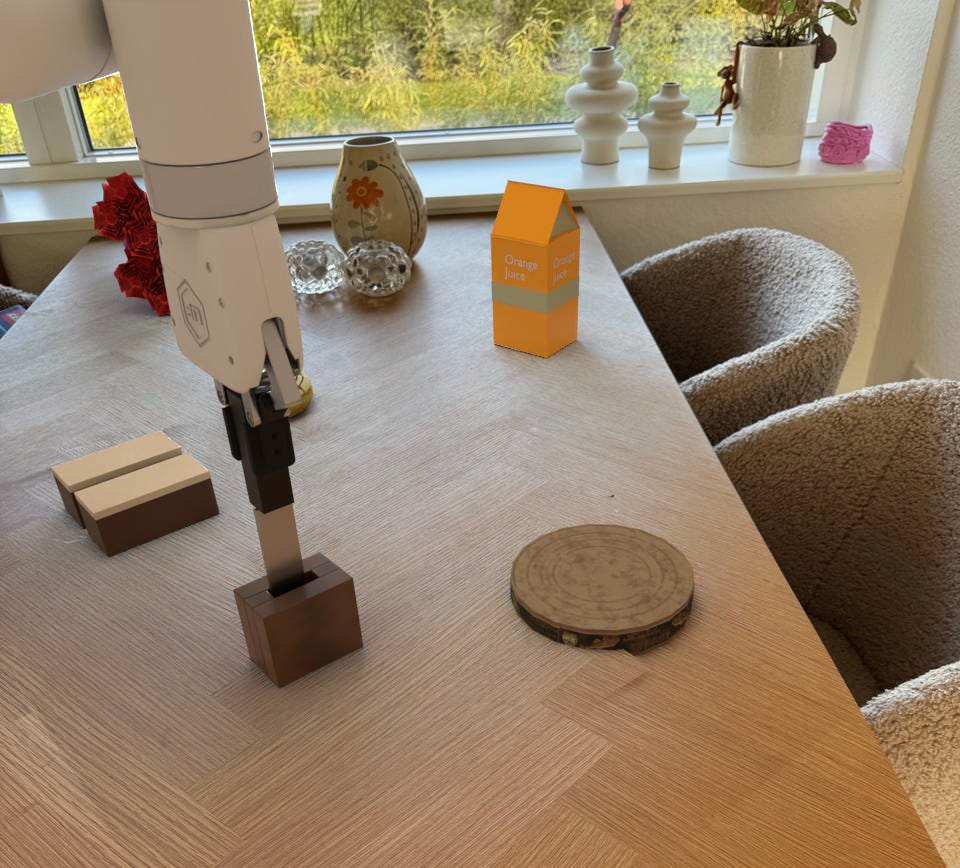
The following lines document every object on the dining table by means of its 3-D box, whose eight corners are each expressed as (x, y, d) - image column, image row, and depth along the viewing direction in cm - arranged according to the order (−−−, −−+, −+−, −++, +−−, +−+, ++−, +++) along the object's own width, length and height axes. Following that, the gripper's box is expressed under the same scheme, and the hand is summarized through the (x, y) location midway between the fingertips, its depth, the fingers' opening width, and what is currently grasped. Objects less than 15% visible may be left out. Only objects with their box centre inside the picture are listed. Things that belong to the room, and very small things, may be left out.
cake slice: (108, 557, 93) (93, 513, 90) (88, 535, 96) (73, 492, 93) (220, 513, 99) (209, 470, 96) (198, 494, 102) (187, 452, 99)
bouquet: (209, 288, 170) (233, 305, 145) (113, 304, 166) (121, 324, 140) (180, 166, 161) (200, 161, 136) (78, 179, 157) (79, 177, 131)
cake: (83, 529, 97) (67, 486, 94) (65, 508, 101) (50, 466, 97) (191, 488, 103) (180, 446, 100) (171, 470, 106) (160, 429, 103)
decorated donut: (220, 399, 120) (213, 371, 118) (303, 383, 123) (298, 355, 120) (235, 434, 112) (228, 404, 110) (323, 415, 115) (319, 386, 113)
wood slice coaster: (729, 604, 84) (734, 576, 82) (599, 685, 76) (600, 657, 74) (601, 531, 93) (602, 505, 91) (474, 596, 86) (472, 569, 84)
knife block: (281, 697, 76) (263, 619, 71) (251, 666, 80) (232, 589, 75) (365, 655, 80) (353, 577, 75) (333, 627, 83) (320, 551, 78)
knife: (280, 614, 75) (238, 400, 63) (267, 601, 76) (222, 389, 65) (314, 599, 76) (277, 387, 65) (300, 586, 77) (262, 376, 66)
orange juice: (546, 358, 126) (547, 197, 113) (492, 344, 130) (487, 187, 117) (578, 339, 130) (583, 181, 118) (525, 326, 135) (524, 172, 122)
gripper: (99, 171, 60) (168, 438, 71) (214, 228, 50) (272, 527, 61) (209, 150, 63) (257, 408, 75) (337, 200, 53) (369, 487, 65)
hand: (263, 459), depth 68 cm, fingers closed on knife, 2 cm apart
